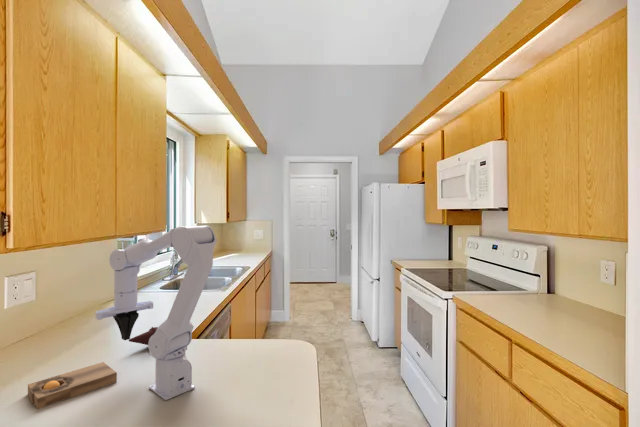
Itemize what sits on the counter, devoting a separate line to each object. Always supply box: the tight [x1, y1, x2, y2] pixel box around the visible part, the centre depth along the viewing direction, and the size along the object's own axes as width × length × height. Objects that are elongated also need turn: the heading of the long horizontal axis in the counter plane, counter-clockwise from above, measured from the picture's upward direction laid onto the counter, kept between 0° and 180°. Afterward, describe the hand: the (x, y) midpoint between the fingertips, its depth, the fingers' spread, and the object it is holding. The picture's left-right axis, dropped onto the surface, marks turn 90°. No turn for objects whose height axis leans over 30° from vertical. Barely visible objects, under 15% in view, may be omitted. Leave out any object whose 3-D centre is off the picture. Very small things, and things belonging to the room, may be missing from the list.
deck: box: [27, 361, 118, 410], centre depth 90 cm, size 10×17×2 cm, turn 141°
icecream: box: [128, 326, 159, 346], centre depth 117 cm, size 7×8×15 cm
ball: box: [43, 381, 60, 390], centre depth 86 cm, size 3×3×3 cm
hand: (125, 338), depth 97 cm, fingers closed
